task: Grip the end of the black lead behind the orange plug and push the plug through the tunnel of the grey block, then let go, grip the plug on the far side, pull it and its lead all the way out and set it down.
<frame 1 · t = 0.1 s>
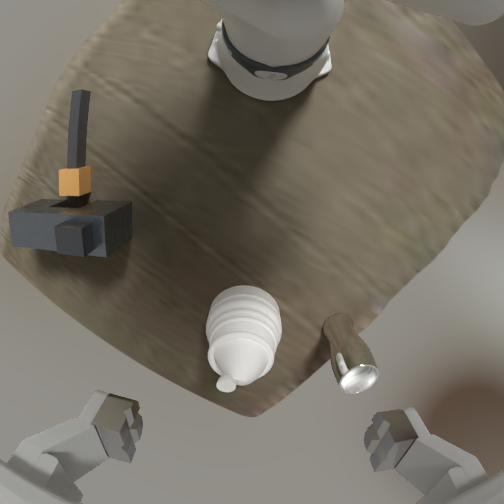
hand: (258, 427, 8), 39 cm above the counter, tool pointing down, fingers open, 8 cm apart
grey block: (82, 216, 45), on the counter
plug: (81, 179, 43), on the counter
beer glass: (337, 325, 53), on the counter
honey pot: (244, 315, 52), on the counter
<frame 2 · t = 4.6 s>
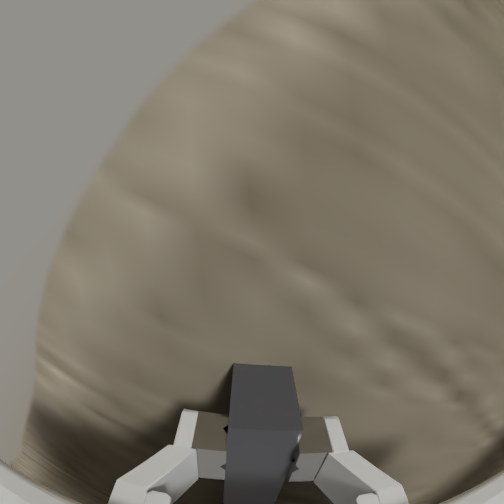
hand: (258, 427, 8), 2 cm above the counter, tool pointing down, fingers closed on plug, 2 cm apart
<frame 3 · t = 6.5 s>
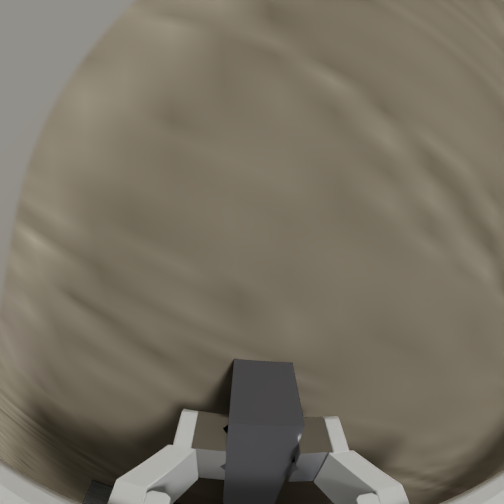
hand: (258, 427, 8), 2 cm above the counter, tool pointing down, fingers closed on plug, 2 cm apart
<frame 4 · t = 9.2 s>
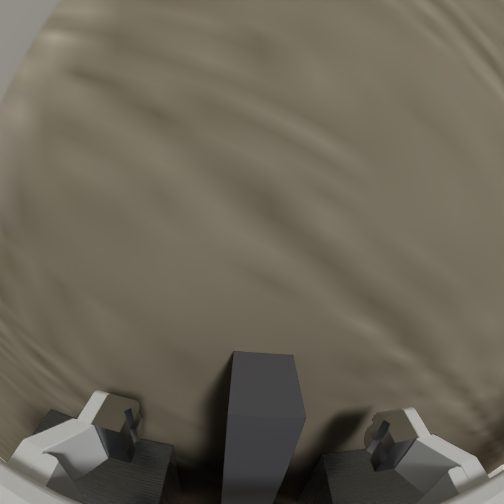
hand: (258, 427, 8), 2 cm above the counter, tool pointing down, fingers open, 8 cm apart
grey block: (243, 481, 12), on the counter
honey pot: (475, 491, 17), on the counter
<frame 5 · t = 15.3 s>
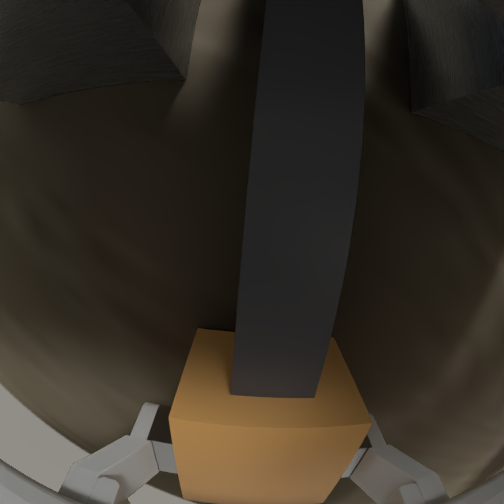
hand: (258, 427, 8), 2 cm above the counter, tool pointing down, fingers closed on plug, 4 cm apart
grey block: (309, 10, 6), on the counter
plug: (259, 386, 10), on the counter, touching gripper
when the fingers open (2 cm above the counter, at t = 17.1 s): plug stays where it is, on the counter.
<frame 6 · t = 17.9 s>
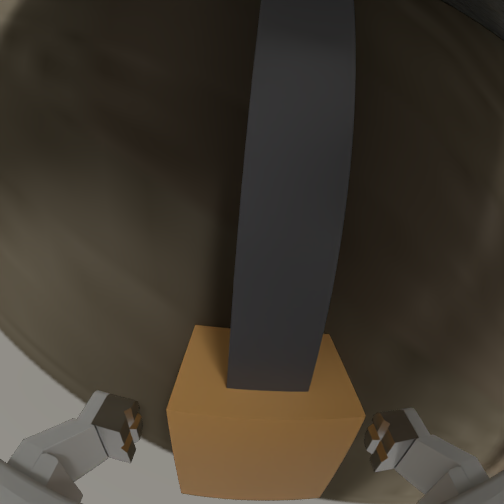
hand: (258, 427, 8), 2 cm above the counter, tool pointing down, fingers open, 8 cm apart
plug: (256, 381, 10), on the counter
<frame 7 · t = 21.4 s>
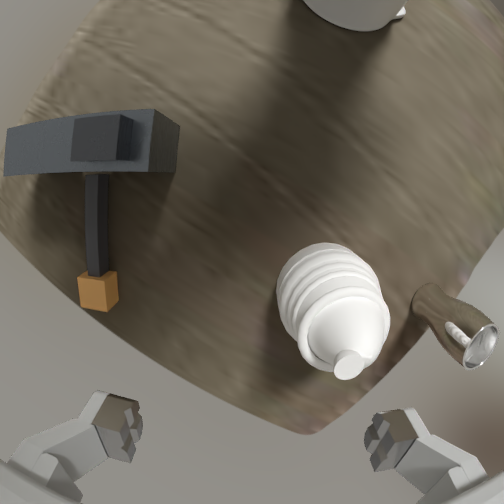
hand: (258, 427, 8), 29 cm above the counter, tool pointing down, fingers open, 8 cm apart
grey block: (104, 149, 33), on the counter
plug: (104, 284, 38), on the counter
beer glass: (425, 300, 39), on the counter
honey pot: (322, 288, 38), on the counter
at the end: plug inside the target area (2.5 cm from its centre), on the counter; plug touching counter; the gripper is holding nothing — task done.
